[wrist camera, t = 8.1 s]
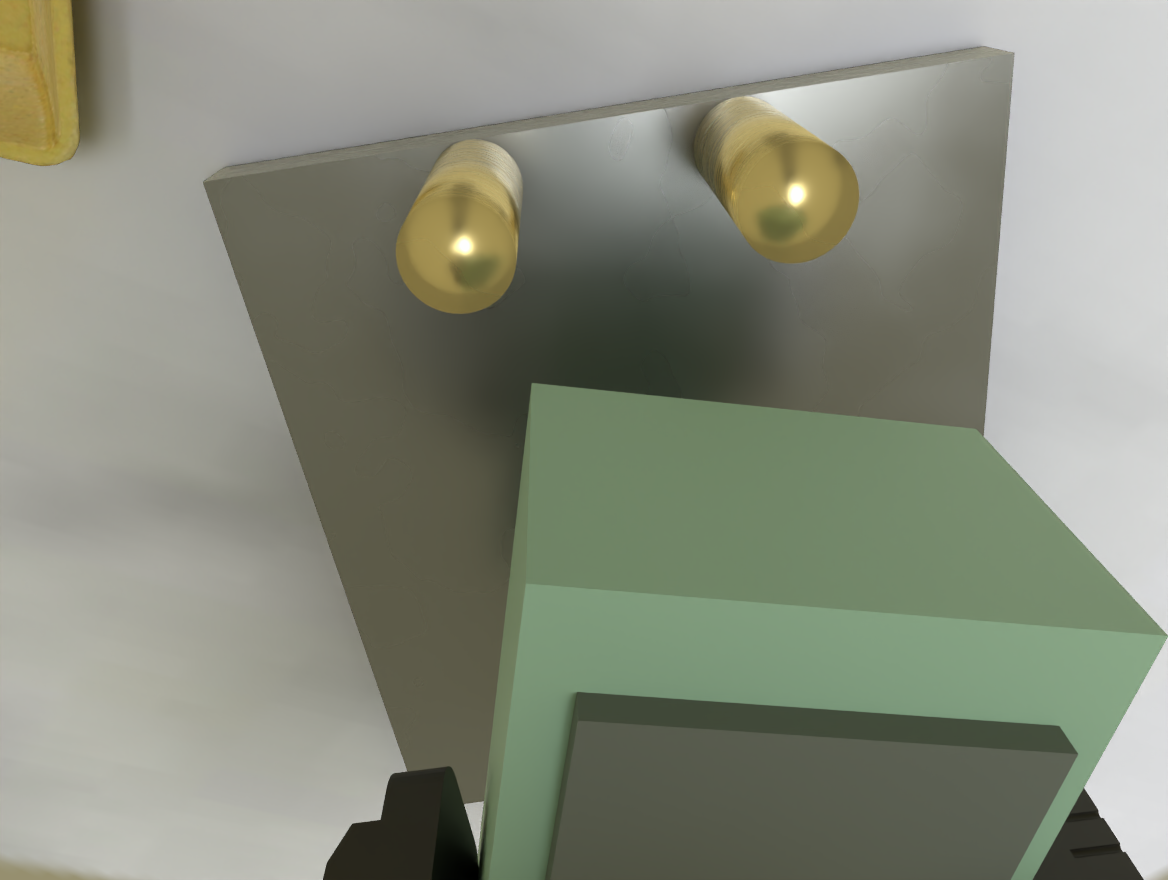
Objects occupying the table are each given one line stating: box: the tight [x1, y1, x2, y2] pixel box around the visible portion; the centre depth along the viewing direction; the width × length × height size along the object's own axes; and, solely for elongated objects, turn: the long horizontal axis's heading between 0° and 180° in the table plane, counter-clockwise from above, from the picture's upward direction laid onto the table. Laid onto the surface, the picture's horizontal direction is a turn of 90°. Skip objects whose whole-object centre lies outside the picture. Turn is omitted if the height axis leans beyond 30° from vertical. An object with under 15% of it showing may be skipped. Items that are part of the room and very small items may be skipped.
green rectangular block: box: [478, 383, 1168, 880], centre depth 10 cm, size 10×5×4 cm, turn 173°
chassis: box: [203, 46, 1014, 804], centre depth 15 cm, size 14×12×4 cm
